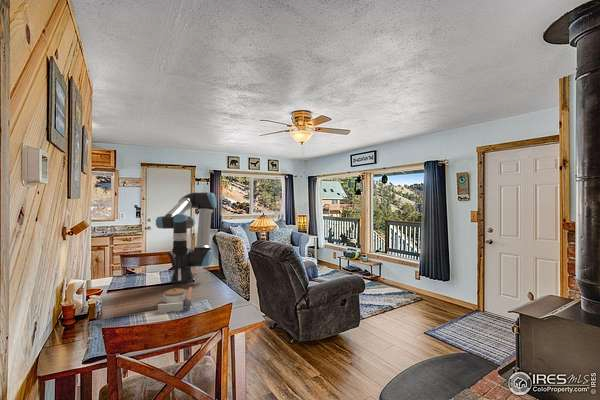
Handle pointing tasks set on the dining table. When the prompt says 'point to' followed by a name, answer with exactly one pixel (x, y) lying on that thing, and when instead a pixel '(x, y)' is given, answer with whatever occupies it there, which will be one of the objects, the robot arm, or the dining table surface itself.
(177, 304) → the socket channel
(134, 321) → the dining table surface
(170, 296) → the lidded jar
